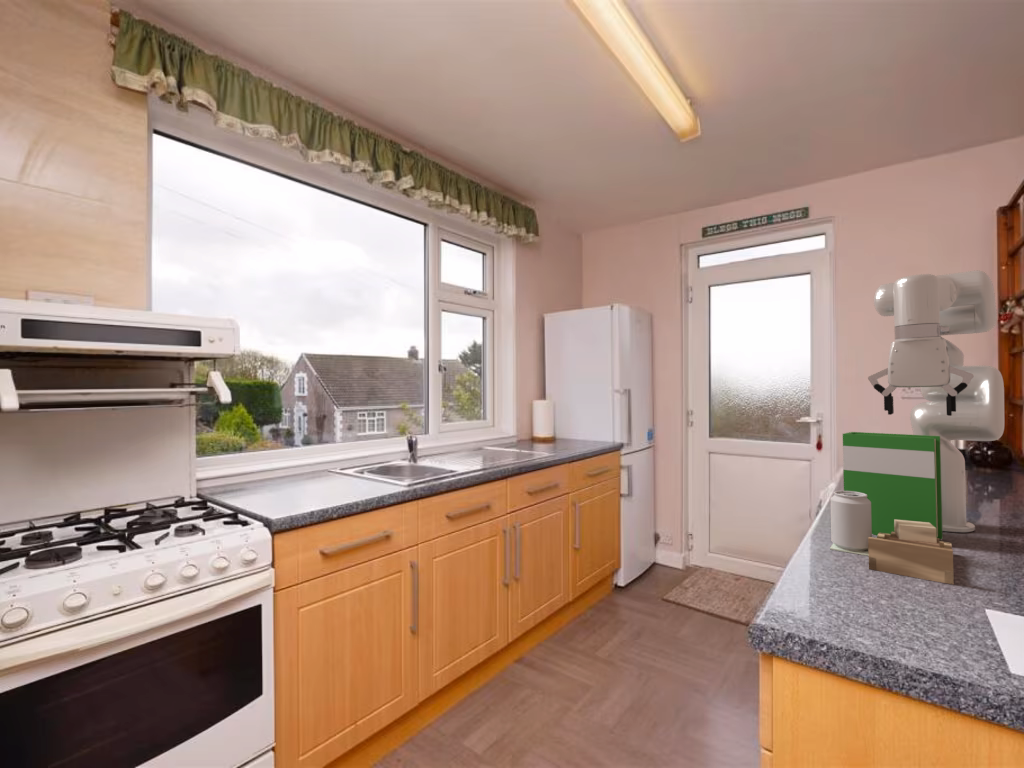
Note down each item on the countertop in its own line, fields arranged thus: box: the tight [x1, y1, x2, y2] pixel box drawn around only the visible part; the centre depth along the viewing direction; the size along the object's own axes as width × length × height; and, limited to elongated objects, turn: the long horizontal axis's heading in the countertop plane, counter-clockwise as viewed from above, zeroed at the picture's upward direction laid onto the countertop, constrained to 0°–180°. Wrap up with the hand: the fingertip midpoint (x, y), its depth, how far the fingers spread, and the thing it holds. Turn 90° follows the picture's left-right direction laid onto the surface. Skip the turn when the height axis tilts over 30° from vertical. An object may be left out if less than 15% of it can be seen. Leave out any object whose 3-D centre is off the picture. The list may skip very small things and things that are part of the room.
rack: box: [868, 533, 955, 586], centre depth 101 cm, size 21×12×6 cm, turn 139°
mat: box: [829, 542, 869, 557], centre depth 109 cm, size 7×7×1 cm
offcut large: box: [889, 532, 941, 548], centre depth 104 cm, size 6×8×4 cm
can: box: [829, 490, 873, 551], centre depth 109 cm, size 8×8×12 cm
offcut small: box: [894, 519, 937, 543], centre depth 104 cm, size 5×6×3 cm
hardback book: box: [842, 431, 944, 540], centre depth 120 cm, size 18×7×24 cm, turn 41°
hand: (919, 414), depth 105 cm, fingers open, 9 cm apart
